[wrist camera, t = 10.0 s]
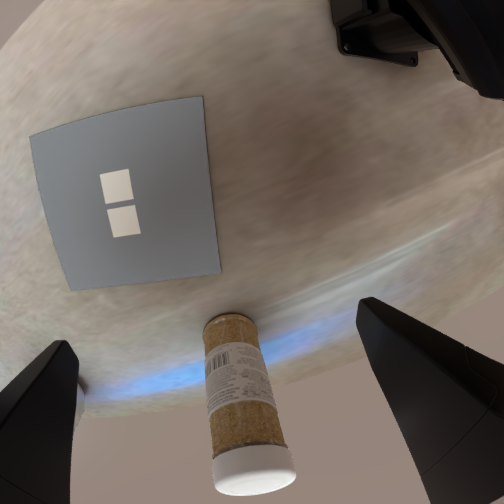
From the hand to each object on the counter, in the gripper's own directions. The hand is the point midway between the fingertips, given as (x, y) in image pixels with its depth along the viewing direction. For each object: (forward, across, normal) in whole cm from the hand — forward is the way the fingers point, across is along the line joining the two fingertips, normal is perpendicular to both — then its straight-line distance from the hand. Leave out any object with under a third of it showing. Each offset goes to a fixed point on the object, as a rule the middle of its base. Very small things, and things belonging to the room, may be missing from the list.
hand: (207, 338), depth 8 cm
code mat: (+12, +6, -1) cm, 13 cm away
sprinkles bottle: (+12, 0, +11) cm, 17 cm away
